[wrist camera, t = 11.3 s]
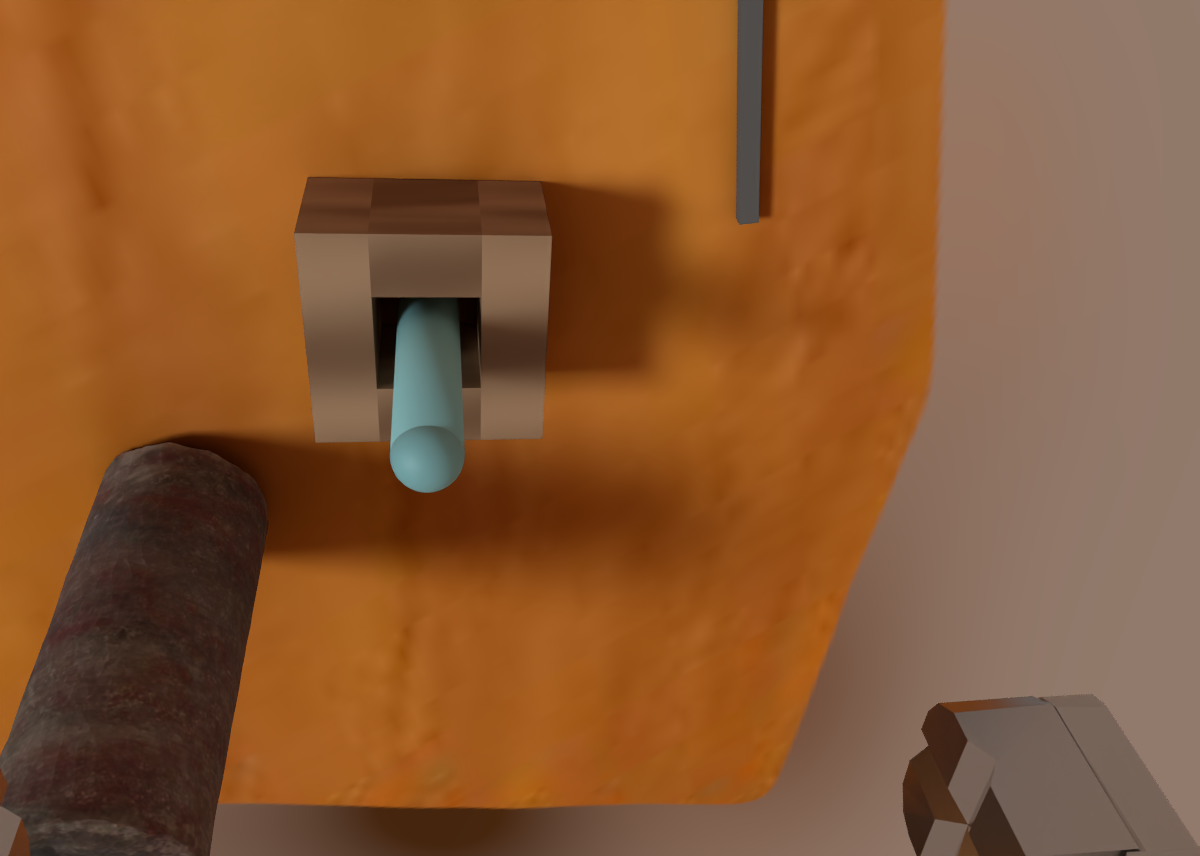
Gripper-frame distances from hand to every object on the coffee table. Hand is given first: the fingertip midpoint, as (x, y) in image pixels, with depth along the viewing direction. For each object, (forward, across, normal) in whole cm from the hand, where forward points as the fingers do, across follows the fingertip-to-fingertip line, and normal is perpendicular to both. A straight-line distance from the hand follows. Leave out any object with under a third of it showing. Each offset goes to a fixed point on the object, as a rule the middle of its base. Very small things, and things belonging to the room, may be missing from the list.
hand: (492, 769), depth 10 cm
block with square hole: (+34, +1, +13) cm, 36 cm away
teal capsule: (+34, +1, +13) cm, 37 cm away
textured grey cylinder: (+34, +12, +24) cm, 44 cm away
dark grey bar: (+34, -11, +2) cm, 36 cm away
